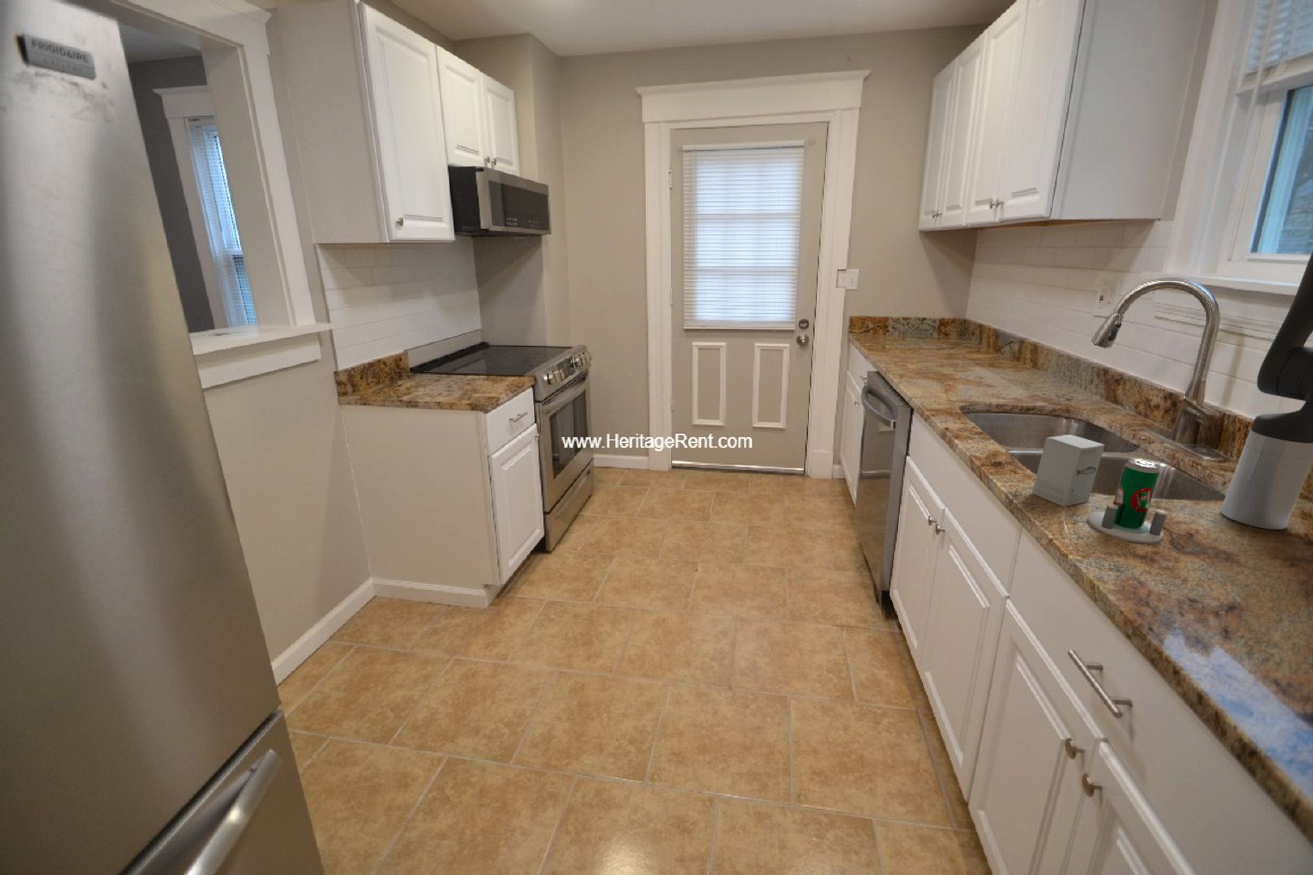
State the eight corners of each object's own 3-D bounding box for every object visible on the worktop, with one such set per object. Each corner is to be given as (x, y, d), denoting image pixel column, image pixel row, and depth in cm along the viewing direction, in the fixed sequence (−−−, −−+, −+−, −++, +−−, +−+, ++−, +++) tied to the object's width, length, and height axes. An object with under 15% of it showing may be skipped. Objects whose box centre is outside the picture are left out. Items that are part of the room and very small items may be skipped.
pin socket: (1095, 510, 116) (1102, 486, 114) (1166, 530, 109) (1175, 505, 107) (1081, 527, 109) (1088, 502, 107) (1156, 549, 101) (1165, 523, 100)
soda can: (1109, 515, 112) (1126, 456, 108) (1142, 523, 109) (1161, 462, 105) (1107, 524, 108) (1125, 463, 104) (1142, 532, 105) (1162, 470, 101)
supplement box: (1065, 507, 117) (1081, 448, 113) (1030, 493, 124) (1044, 436, 119) (1089, 502, 120) (1106, 444, 116) (1054, 488, 126) (1069, 433, 122)
